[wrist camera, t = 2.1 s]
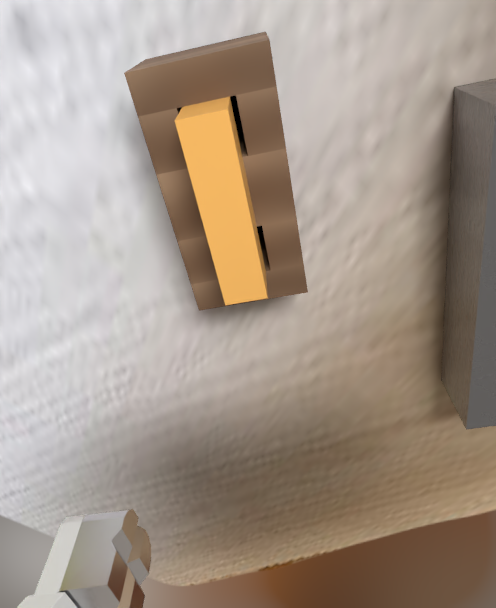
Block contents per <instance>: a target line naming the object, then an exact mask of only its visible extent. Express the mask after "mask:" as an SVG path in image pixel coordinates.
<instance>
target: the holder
mask: <svg viewBox="0 0 496 608" xmlns="http://www.w3.org/2000/svg"><path fill="white" fill-rule="evenodd" d="M124 74H125V77H126V80H127V83H128V86H129V89H130V93H131V96H132V99H133V102H134V105H135V108H136V112H137V115H138V118H139V121H140V124H141V128H142V131H143V134H144V137H145V140H146V143H147V147H148V150H149V153H150V156H151V159H152V162H153V166H154V169H155V172H156V175H157V178H158V181H159V185H160V188H161V191H162V194H163V197H164V200H165V204H166V207H167V210H168V213H169V216H170V219H171V223H172V226H173V229H174V232H175V235H176V238H177V242H178V245H179V248H180V251H181V254H182V258H183V261H184V264H185V267H186V270H187V273H188V277H189V280H190V283H191V286H192V289H193V292H194V296H195V299H196V302H197V305H198V308H199V310H205V309H211V308H217V307H223V306H229V305H225V302H224V299H223V295H222V291H221V288H220V284H219V280H218V277H217V273H216V269H215V266H214V262H213V259H212V255H211V251H210V248H209V244H208V240H207V237H206V233H205V229H204V226H203V222H202V219H201V215H200V211H199V208H198V204H197V200H196V197H195V193H194V189H193V186H192V182H191V179H190V175H189V171H188V168H187V164H186V160H185V157H184V153H183V149H182V146H181V142H180V139H179V135H178V131H177V128H176V124H175V119H176V117H177V116H178V114H179V112H180V110H181V109H182V107H184V106H189V105H193V104H198V103H203V102H207V101H212V100H216V99H221V98H226V97H230V96H235V95H236V98H237V103H238V108H239V113H240V118H241V123H242V128H243V132H238V138H239V143H240V148H241V153H242V158H243V163H244V167H245V172H246V177H247V182H248V187H249V192H250V197H251V201H252V206H253V211H254V216H255V221H256V226H262V229H263V233H258V235H259V240H260V245H261V250H262V255H263V260H264V265H265V269H266V281H267V295H268V298H266V299H270V298H276V297H282V296H288V295H294V294H300V293H306V292H308V291H307V284H306V278H305V271H304V265H303V258H302V251H301V245H300V238H299V232H298V225H297V218H296V212H295V205H294V199H293V192H292V186H291V179H290V172H289V166H288V159H287V153H286V146H285V140H284V133H283V126H282V120H281V113H280V107H279V100H278V94H277V87H276V80H275V74H274V67H273V61H272V54H271V47H270V41H269V38H268V36H267V34H266V32H263V33H258V34H254V35H250V36H245V37H241V38H237V39H232V40H228V41H224V42H219V43H215V44H211V45H206V46H202V47H198V48H193V49H189V50H185V51H181V52H176V53H172V54H168V55H163V56H159V57H155V58H150V59H146V60H144V61H143V62H141V63H139V64H138V65H136V66H135V67H133V68H131V69H130V70H128V71H127V72H125V73H124ZM260 300H264V299H260ZM254 301H258V300H254ZM248 302H253V301H248ZM242 303H247V302H242ZM236 304H241V303H236ZM231 305H235V304H231Z"/></svg>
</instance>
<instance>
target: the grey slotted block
mask: <svg viewBox="0 0 496 608" xmlns="http://www.w3.org/2000/svg"><path fill="white" fill-rule="evenodd" d="M441 380H442V382H443V384H444V386H445V388H446V390H447V392H448V394H449V396H450V398H451V400H452V402H453V404H454V406H455V408H456V410H457V412H458V414H459V416H460V418H461V420H462V422H463V424H464V426H465V428H466V429H473V428H481V427H488V426H496V79H492V80H487V81H482V82H477V83H473V84H468V85H463V86H458V87H455V88H454V110H453V132H452V155H451V177H450V200H449V222H448V244H447V267H446V289H445V311H444V334H443V356H442V379H441Z"/></svg>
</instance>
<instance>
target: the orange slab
mask: <svg viewBox="0 0 496 608" xmlns="http://www.w3.org/2000/svg"><path fill="white" fill-rule="evenodd" d="M175 124H176V128H177V131H178V135H179V139H180V142H181V146H182V149H183V153H184V157H185V160H186V164H187V168H188V171H189V175H190V179H191V182H192V186H193V189H194V193H195V197H196V200H197V204H198V208H199V211H200V215H201V219H202V222H203V226H204V229H205V233H206V237H207V240H208V244H209V248H210V251H211V255H212V259H213V262H214V266H215V269H216V273H217V277H218V280H219V284H220V288H221V291H222V295H223V299H224V302H225V305H231V304H236V303H242V302H248V301H254V300H260V299H266V298H268V295H267V281H266V269H265V265H264V260H263V255H262V250H261V245H260V240H259V235H258V231H257V226H256V221H255V216H254V211H253V206H252V201H251V197H250V192H249V187H248V182H247V177H246V172H245V167H244V163H243V158H242V153H241V148H240V143H239V138H238V133H237V128H236V124H235V119H234V114H233V109H232V104H231V99H230V97H226V98H221V99H216V100H212V101H207V102H203V103H198V104H193V105H189V106H184V107H182V109H181V110H180V112H179V114H178V116H177V117H176V119H175Z"/></svg>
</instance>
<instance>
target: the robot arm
mask: <svg viewBox="0 0 496 608" xmlns="http://www.w3.org/2000/svg"><path fill="white" fill-rule="evenodd" d="M137 523H138V516H137V515H136V513H135V511H134V510H133V509H131V510H122V511H113V512H105V513H96V514H85V515H78V516H70V517H66V518H65V519H64V520H63V522H62V523H61V524H60V526H59V529H58V532H57V534H56V537H55V540H54V543H53V545H52V548H51V551H50V553H49V556H48V558H47V561H46V564H45V567H44V569H43V572H42V574H41V577H40V580H39V582H38V585H37V588H36V591H35V593H34V595H31V596H27V597H26V598H25V599H24V600H23V601H22V602H21V604H20V605H19V606H18V607H17V608H143V603H144V598H145V595H144V592H143V590H142V588H141V586H140V585H141V583H142V582H143V581H144V579H145V578H146V577H147V575H148V574H149V569H150V563H151V544H150V540H149V536H148V534H147V532H146V530H145V529H143V528H141V527H139V526H137Z"/></svg>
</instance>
